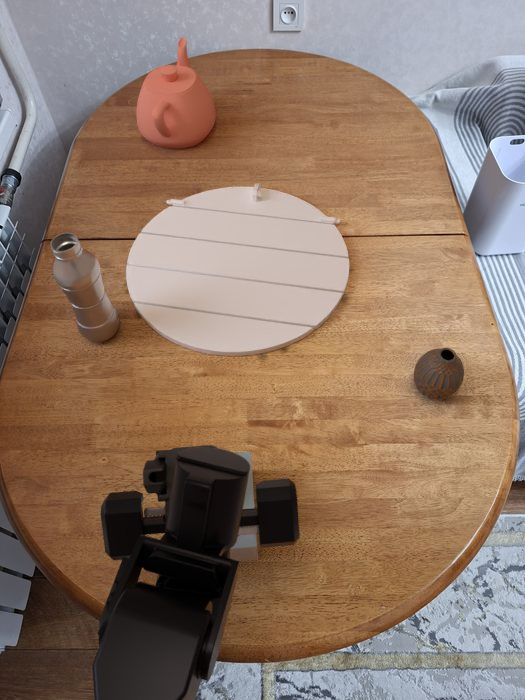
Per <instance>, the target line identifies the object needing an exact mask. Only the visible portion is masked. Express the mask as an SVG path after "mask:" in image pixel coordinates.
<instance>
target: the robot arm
mask: <svg viewBox="0 0 525 700" xmlns="http://www.w3.org/2000/svg"><path fill="white" fill-rule="evenodd" d="M235 453H236V452H232V451H229V450H227V449H224V448H223V449H222V448H219V447H217V446H215V445H213V444H207V445H206V444H205V445H193V446H181V447H180V446H179V447H172V448H171V449H161V450H156V451H155V458H154V459H150V460H146V461H145V463H144V466H143V469H142V484H143V485H142V486H143V487H144V490H145V491H146V493H147V494H148V495H149V494H155V495H156V496H157V502H158V503H160V502H164V504H165V505H164V506H163V505H162V506H152V507H145V508H143V502H144V499H145V498H144V493H143V492H141V491H138V490H128V491H127V490H126V491H114V492H109V494H108V495H107V496H105V498H104V500H103V502H102V504H101V505H100V522H101V523H100V524H101V531H102V537H103V543H104V552H105V554H106V555H107V556H108V557H109V558H110V559H111V560H112V561H120V564H119V567H118V570H117V573H116V575H115V578H114V580H113V583H112V585H111V587H110V591H109V593H108V596H107V598H106V601H105V604H104V607H103V609H102V612H101V614H100V616H99V619H98V631H97V636H98V641H97V642H98V643H97V644H98V649H97V651H96V654H95V656H94V659H93V662H92V669H91V670H92V681H93V682H92V683H93V696H94V700H196V697H197V695H198V692H199V689H200V685H201V682H202V680H203V681H205V682H209V681H210V679H211V677H212V675H213V673H214V671H215V667H216V664H217V660H218V656H219V653H220V650H221V644H222V641H223V637H224V633H225V629H226V627H227V626H226V625H227V621H228V617H229V614H230V609H231V605H232V602H233V598H234V593H235V590H236V585H237V580H238V574H239V569H240V563H241V561H238V560H234V559H230V548H232V547H233V546H234V545H235V544H236V542H237V538H238V536H239V535H248V534H257V535H258V537H259V538H258V539H259V548H260V549H265V548H267V549H268V548H277V547H289V546H295V545H296V543H297V542H298V541H299V539H300V536H301V535H300V521H299V519H300V518H299V504H298V502H299V501H298V492H297V488H296V483H295V482H294V481H293V480H292V479H290V478H289V477H287V478H276V479H263V480H261V481H259V482H257V483H255V485H254V486H255V498H256V507H255V508H250V509H243V504H244V499H245V493H246V488H247V482H248V477H249V471H250V464H249V462H248V461H247V460H246V459H245V458H243V457H241V456H240V455H238V454H235ZM157 534H163V535H162V537H161V538H160V539H159V538H155V537H152V536H148V535H157ZM142 570H144V571H145V572H149V573H153V574H156V575H157V576H156V577H157V578H156V580H155V581H156V582H155V584H153V583H149V582H146V581H142V580H141V581H139V579H140V576H141V574H142Z"/></svg>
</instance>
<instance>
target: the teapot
mask: <svg viewBox="0 0 525 700" xmlns="http://www.w3.org/2000/svg"><path fill="white" fill-rule="evenodd" d="M187 47H188V45H187V39H186V37H185V36H182V37H180V38H179V40H178V43H177V55H176V56H177V57H176V65H174V64H166V65H160V66H158V67H156V68H154V69H153V70H151V71H150V72H149V73H148V74H147V75H146V77H145V78H144V81H143V83H142V85H141V88H140V91H139V94H138V98H137V102H136V123H137V128H138V131H139V133H140V135H142V137H143V138H145V139H146V140H147V142H150V143H151V144H153V145H155V146H157V147H160V148H166V149H187V148H191V147H194V146H197V145H198V144H200V143H202V141H204V139H205V138H206V137H207V136H208V135H209V134H210V132H211V131H212V129H213V127H214V125H215V124H216V123H215V122H216V119H217V118H216V117H217V113H216V108H215V103H214V101H213V97H212V95H211V92H210V91H209V88H208V87H207V85H206V84H205V82H204V81H203V80H202V78H201V77H200V76H199V74H198V73H197V72H196V71H195V70H194V69H192V67H191V63H190V61H189V56H188V49H187Z"/></svg>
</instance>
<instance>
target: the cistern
mask: <svg viewBox="0 0 525 700" xmlns="http://www.w3.org/2000/svg"><path fill="white" fill-rule="evenodd" d="M234 453H235V454H238V455H240V456H241V457H243V458H245V459H246V460H247V461H248V462H249V464H250V471H249V477H248V482H247V488H246V493H245V499H244V504H243V509H250V508H256V504H255V488H254V486H255V485H254V472H253V462H252V452H251V451H244V452H234ZM258 547H259V546H258V533H257V534H248V535H239V536H238V538H237V542H236V544H235V545H234V546H233V547H232V548H230V559H234V560H238V561H240V562H247V561H258V560H259V550H258V549H259V548H258Z"/></svg>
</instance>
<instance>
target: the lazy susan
mask: <svg viewBox="0 0 525 700" xmlns="http://www.w3.org/2000/svg"><path fill="white" fill-rule="evenodd" d="M166 205H169V206H167V207H165V208H164V209H163V210H161V211H160V212H159V213H157V214H156V215H155V216H154V217H153V218H151V220H149V221H148V222H147V224H146V225H144V227H143V228H142V229H141V230H140V233H138V235H137V237H136V238H135V240H134V241H133V243H132V245H131V247H130V251H129V253H128V256H127V260H126V261H127V262H126V267H125V278H126V286H127V289H128V293H129V296H130V299H131V301H132V303H133V304H132V305H134V308H135V310H136V311H137V312H138V314H139V315H140V317H141V318H142V319H143V321H144V322H145V323H146V324H148V326H149V327H150V328H151V329H152V330H154V331H155V332H156V333H157V334H158V335H160V336H161V337H163V338H165V339H167V340H168V341H170V342H172V343H174V344H176V345H177V346H180V347H182V348H185V349H188V350H191V351H194V352H198V353H202V354H207V355H213V356H224V357H243V356H245V357H246V356H254V355H261V354H265V353H269V352H273V351H277V350H280V349H282V348H285V347H288V346H290V345H293V344H295V343H296V342H298V341H301V340H302V339H304V338H306V337H307V336H309V335H311V334H312V333H314V331H316V330H317V329H319V328H320V327H321V326H322V325H324V323H325V322H326V321H327V320H328V319H329V318H330V317H331V316H332V315H333V314H334V312H335V311H336V310H337V308H338V307H339V305H340V303H341V301H342V299H343V298H344V297H343V296H344V295H345V292H346V289H347V285H348V282H349V275H350V258H349V257H350V255H349V251H348V247H347V244H346V241H345V239H344V237H343V236H342V234H341V232H340V230H339V229H338V228H337V226H336V224H337V225H340V223H341V222H340V221H341V219H339V218H337V217H335V216H327V215H326V214H325V213H324V212H322V211H321V210H320V209H318V208H317V207H315V206H314V205H312V204H311V203H309V202H307V201H305V200H303V199H302V198H299V197H297V196H295V195H292V194H289V193H286V192H285V191H284V192H283V191H279V190H276V189H271V188H265V187H262V183H259V182H255V183H254V185H253V186H227V187H221V188H213V189H210V190H205V191H201V192H199V193H195V194H192V195H189V196H187V197H184V198H183V199H176V198H171V199H166Z"/></svg>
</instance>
